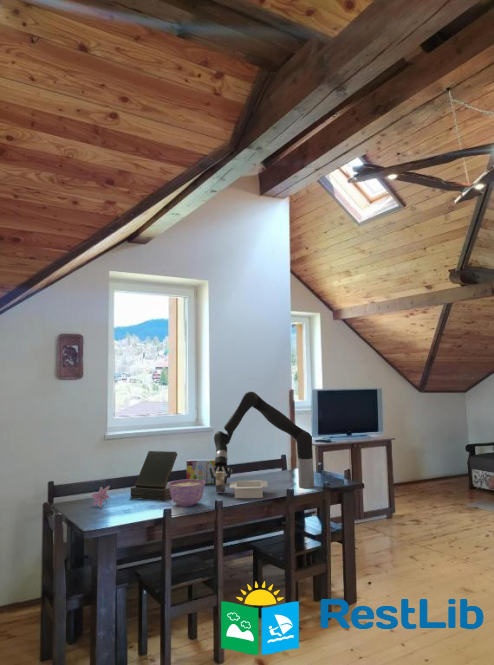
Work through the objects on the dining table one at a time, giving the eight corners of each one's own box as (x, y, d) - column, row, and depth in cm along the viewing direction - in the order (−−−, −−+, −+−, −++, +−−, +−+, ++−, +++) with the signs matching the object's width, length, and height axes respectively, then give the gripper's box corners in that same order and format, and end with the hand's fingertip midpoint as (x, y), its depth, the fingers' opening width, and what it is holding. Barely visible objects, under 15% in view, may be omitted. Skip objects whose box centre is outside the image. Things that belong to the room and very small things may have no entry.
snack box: (219, 482, 315) (219, 458, 317) (218, 483, 310) (217, 460, 311) (188, 482, 317) (187, 459, 319) (186, 484, 312) (186, 460, 314)
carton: (267, 490, 286) (267, 480, 286) (268, 498, 264) (267, 487, 265) (231, 491, 286) (231, 481, 287) (229, 499, 265) (229, 488, 265)
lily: (91, 505, 265) (85, 491, 262) (110, 494, 271) (105, 480, 267) (98, 516, 256) (93, 502, 252) (118, 504, 262) (113, 490, 258)
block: (225, 490, 284) (224, 471, 285) (224, 491, 279) (224, 472, 280) (216, 490, 284) (216, 471, 286) (216, 492, 279) (215, 472, 281)
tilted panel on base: (130, 498, 275) (130, 454, 278) (149, 491, 293) (149, 450, 296) (164, 501, 267) (164, 455, 270) (182, 493, 285) (181, 451, 288)
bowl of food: (160, 505, 255) (160, 483, 256) (188, 498, 270) (188, 477, 271) (185, 511, 242) (185, 487, 243) (213, 503, 257) (213, 481, 258)
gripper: (209, 456, 291) (207, 480, 278) (232, 455, 291) (231, 479, 278) (210, 463, 296) (208, 487, 283) (233, 462, 296) (232, 486, 283)
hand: (220, 483), depth 280 cm, fingers closed on block, 5 cm apart
